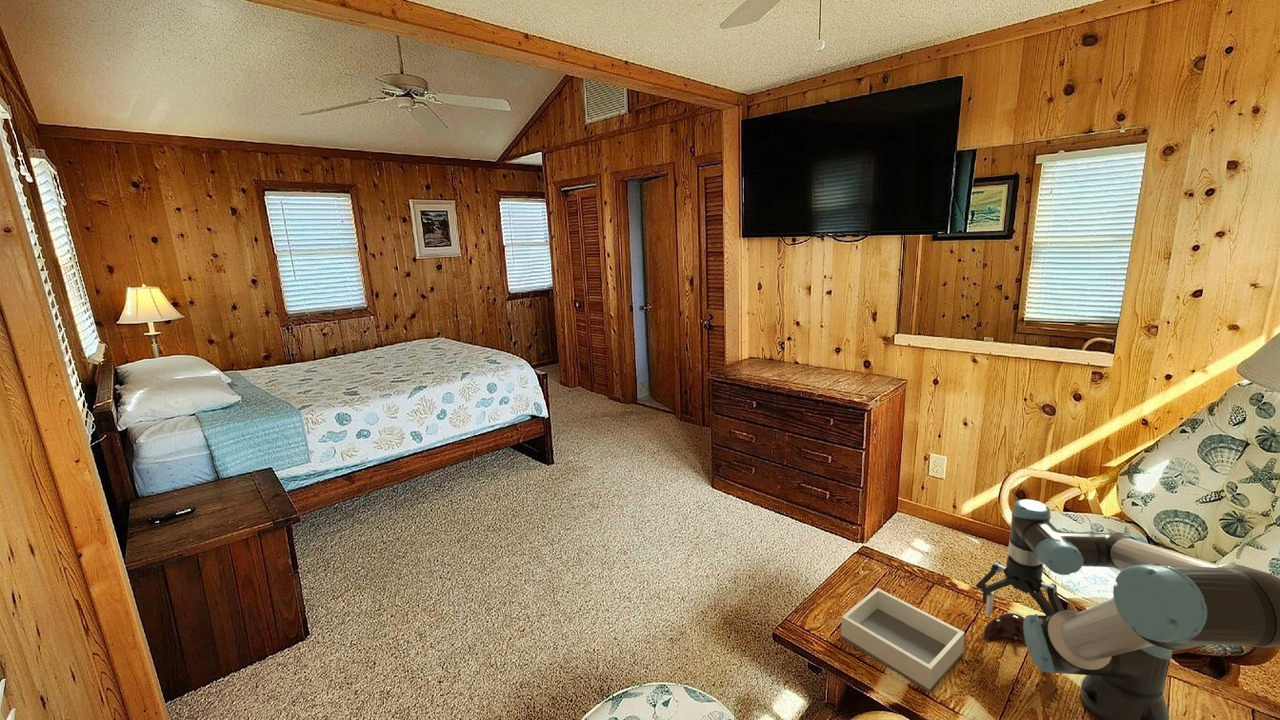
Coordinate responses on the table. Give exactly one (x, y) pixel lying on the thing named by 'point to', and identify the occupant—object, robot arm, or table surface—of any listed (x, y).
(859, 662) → the table surface
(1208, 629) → the robot arm
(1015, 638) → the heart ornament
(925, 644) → the open box
